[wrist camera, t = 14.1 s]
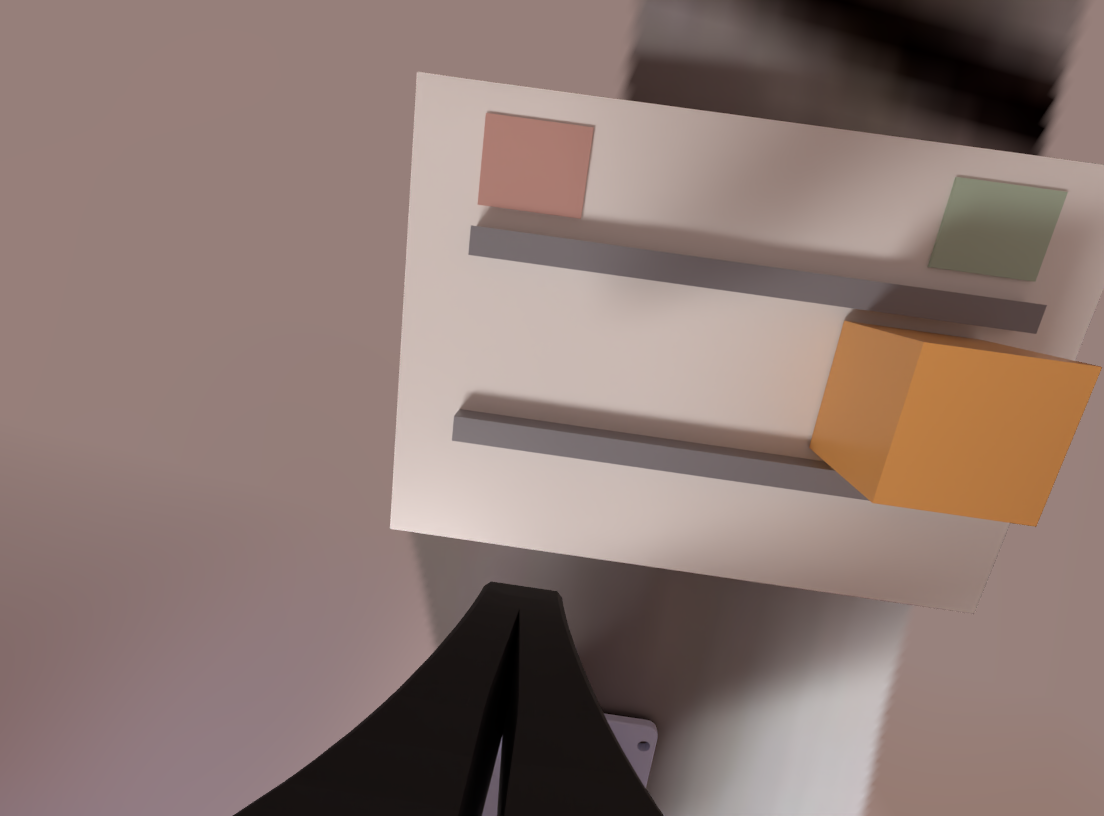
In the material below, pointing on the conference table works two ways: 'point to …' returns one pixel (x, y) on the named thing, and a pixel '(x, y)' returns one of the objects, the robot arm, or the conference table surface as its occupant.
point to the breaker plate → (702, 327)
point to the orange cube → (949, 421)
